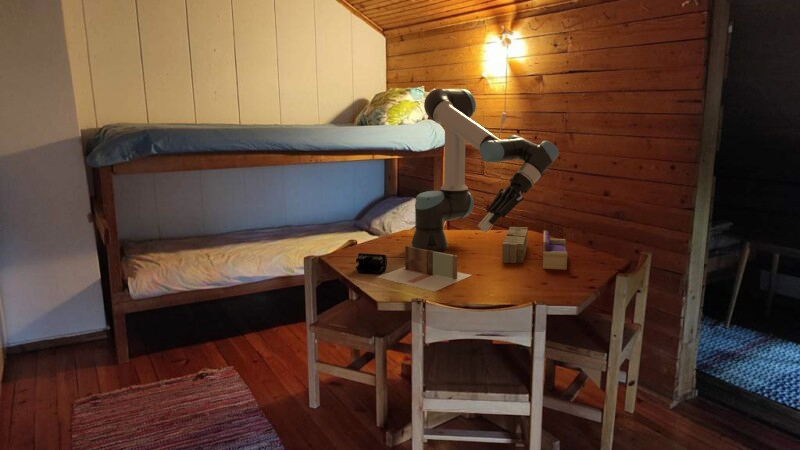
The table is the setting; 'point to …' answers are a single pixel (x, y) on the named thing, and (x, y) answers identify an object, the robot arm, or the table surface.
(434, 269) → the fence gate
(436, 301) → the table surface
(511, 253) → the block tower
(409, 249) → the fence fixed
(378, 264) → the end cap
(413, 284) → the card
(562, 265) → the toy sofa
